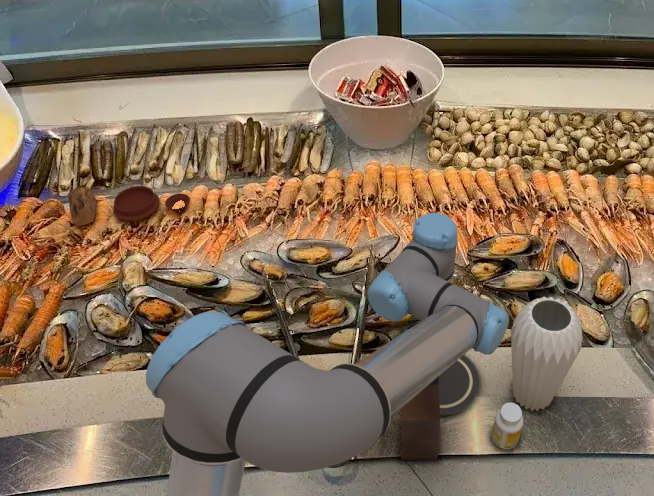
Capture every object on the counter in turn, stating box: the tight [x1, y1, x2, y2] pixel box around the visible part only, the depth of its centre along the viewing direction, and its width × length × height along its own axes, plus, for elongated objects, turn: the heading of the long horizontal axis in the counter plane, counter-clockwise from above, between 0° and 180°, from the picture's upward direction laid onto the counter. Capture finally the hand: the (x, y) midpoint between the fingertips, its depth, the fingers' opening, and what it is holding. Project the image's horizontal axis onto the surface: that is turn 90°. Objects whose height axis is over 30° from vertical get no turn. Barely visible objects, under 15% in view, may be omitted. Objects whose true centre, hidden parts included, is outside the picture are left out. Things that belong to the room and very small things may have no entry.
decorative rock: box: [67, 186, 98, 227], centre depth 171 cm, size 12×6×11 cm, turn 18°
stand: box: [400, 385, 442, 461], centre depth 124 cm, size 7×7×15 cm
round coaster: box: [429, 354, 480, 417], centre depth 139 cm, size 16×16×1 cm
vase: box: [510, 296, 584, 412], centre depth 129 cm, size 13×13×26 cm
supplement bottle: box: [491, 402, 524, 450], centre depth 127 cm, size 5×5×10 cm
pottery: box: [112, 185, 191, 222], centre depth 176 cm, size 12×20×4 cm, turn 92°
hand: (428, 359), depth 137 cm, fingers closed on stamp, 4 cm apart
